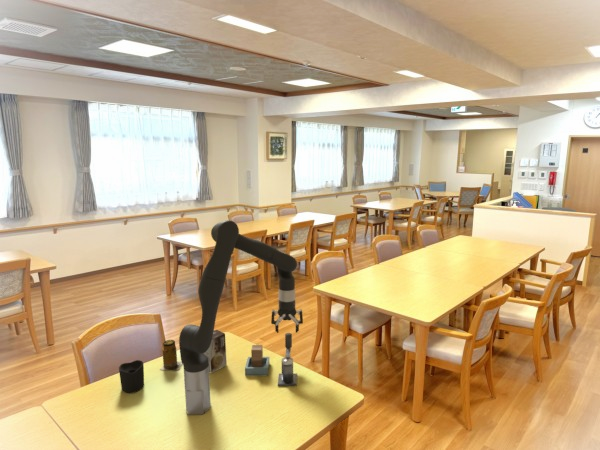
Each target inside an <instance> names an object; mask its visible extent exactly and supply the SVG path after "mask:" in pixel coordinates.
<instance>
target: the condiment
mask: <svg viewBox="0 0 600 450" xmlns="http://www.w3.org/2000/svg"><path fill="white" fill-rule="evenodd" d="M161 351H162V362H163V365H162V367H161V368H160V371H178V370H180V369H181V367H182V366H183V364H182V362H181V361H178V357H177V356H178V355H177V354H178V353H177V345H176V341H175V340H174V339H166V340H164V341H163V343H162V349H161Z"/></svg>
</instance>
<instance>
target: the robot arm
mask: <svg viewBox="0 0 600 450" xmlns="http://www.w3.org/2000/svg"><path fill="white" fill-rule="evenodd" d="M210 235H211V238H212V240H213V241H214V242H215V244H214V249H213V253H212V255H211V257H210V259H209V260H208V262H207V264H206V266H205V267H204V269H203V272H202V275H201V277H200V281H199V285H198V290H197V291H198V298H199V303H200V307H201V319H200V325H196V324H186V325H185V326H184V327H182V329H181V330H180V334H179V339H178V344H179V345H178V346H179V353H180V360H181V361H180V362H182V366H183V376H184V377H183V378H184V397H185V411H186V413H187V415H204V414H205V413H206V412H208V410H210V408H211V387H210V386H211V385H210V372H209V361H208V357H207V356H206V355H205V354H204V353H205V352H206V351H207V350H208V348H209V347H210V344H211V341H212V338H213V332H214V331H215V326H216V325H215V324H216V319H217V314H218V309H219V305H220V302H221V301H220V300H221V297H222V295H223V291H224V287H225V283H226V279H227V275H228V271H229V266H230V263H231V262H230V261H231V258H232V255H233V251H234V249H236V250H239V251H242V252H244V253H246V254H249V255H251V256H252V257H256V258H258V259H259V260H262V261H263V262H266V263H268V264H271V265H273V266H275V267H276V271H277V275H278V280H279V281H278V310H275V309H272V310H271V325H274V328H275V329H274V331H275V332H276V333H277V334H278V333H279V325H280V323H281V322H282V321H292V322H294V324H295V333H296V334H297V333H298V332H299V331H300V325H303V323H304V320H303V309H302V308H301V309H298V310H297V309H296V288H295V286H296V281H295V280H296V279H295V276H294V275H293V274H292V273H293V272H295V270H296V269H297V267H298V261H297V259H296V258H295V257H294V256H292V255H290V254H289V253H284V252H283V251H280V250H278V249H277V248H276V247H274V246H272V245H270V244H268V243H265V242H263V241H260V240H256V239H253V238H250V237H248V236H245V235H242V234H240V229H239V226H238V224H237V223H236V222H235V221H233V220H223V221H220V222H218V223H216V224H214V226H212V228H211V230H210ZM277 314H278V318H277V319H276V320H275V316H277ZM296 315H298V316H299V320H298V318H297V317H296Z"/></svg>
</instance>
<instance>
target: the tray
mask: <svg viewBox="0 0 600 450" xmlns="http://www.w3.org/2000/svg"><path fill="white" fill-rule="evenodd" d="M269 367H270V356H263V367H252V356H247V358H246V363H245V365H244V376H245V377H246V376H253V377H254V376H255V377H256V376H266V377H267V376H269V375H268V374H269V370H270V368H269Z"/></svg>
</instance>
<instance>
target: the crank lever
mask: <svg viewBox="0 0 600 450" xmlns="http://www.w3.org/2000/svg"><path fill="white" fill-rule="evenodd" d="M284 336H285V337H284V339H285V340H284V343H285V344H284V346H285V347H284V348H285V356H284V357H282V358H281V366H282V365H284V366H291V365H293V366H294V358H293V357H291V352H292V351H291V350H292V347H293V344H292V343H293V335H292V333H290V332H286V333H285V334H284Z"/></svg>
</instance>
